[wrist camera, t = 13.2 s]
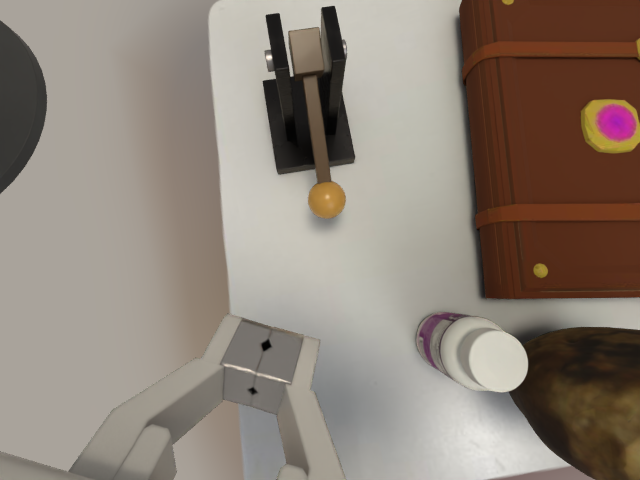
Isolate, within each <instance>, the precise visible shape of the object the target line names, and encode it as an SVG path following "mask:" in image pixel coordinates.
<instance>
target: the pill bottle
mask: <svg viewBox="0 0 640 480" xmlns="http://www.w3.org/2000/svg"><path fill="white" fill-rule="evenodd" d="M416 342H417V347H418V350H419V352H420V354H421V356H422V357H423V359H424V360H425V361H426V362H427V363H428V364H429V365H431V366H433V367H434V368H436V369H437V370H439V371H441V372H442V373H444V374H445V375H447V376H448V377H450V378H451V379H453V380H454V381H456V382H457V383H459V384H461V385H462V386H464V387H466V388H469V389H472V390H477V391H486V390H490V391H494V392H508V391H511V390H514V389H515V388H517V387H518V386H519V385H520V384H521V383H522V382H523V380H524V378H525V377H526V374H527V371H528V358H527V355H526V352H525V349H524V348H523V346H522V344H521V343H520V342H519V341H518V340H517V339H516V338H515V337H514V336H512V335H511V334H509V333H507V332H504V331H503V330H502V329H501V328H500V327H499V326H498V325H497V324H495V323H494V322H492V321H490V320H487V319H485V318H481V317H477V316H469V315H462V314H456V313H448V312H438V313H434V314H432V315H430V316H428V317H427V318H426V319H424V321H423V322H422V323H421V324H420V326H419V328H418V331H417V339H416Z"/></svg>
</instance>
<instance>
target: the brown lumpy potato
mask: <svg viewBox="0 0 640 480" xmlns="http://www.w3.org/2000/svg"><path fill="white" fill-rule="evenodd" d="M522 346H523V348H524V349H525V352H526V355H527V358H528V371H527V374H526V377H525V378H524V380H523V382H522V383H521V384H520V385H519V386H518V387H517V388H515V389H514V390H511V391H509V393H510V395H511V397H512V399H513V401H514V402H515V404H516V405H517V407H518V408H519V409H520V411H521V412H522V413H523V414H524V416H525V417H526V419H527V420H528V422H529V424H530V425H531V427H532V428H533V430H534V431H535V433H536V434H537V435H538V436H539V438H540V439H541V440H542V441H543V443H544V444H545V445H546V446H547V447H548V448H549V449H550V450H551V451H553V452H554V453H555V454H556V455H558V456H559V457H560V458H562V459H563V460H564V461H566V462H567V463H569V464H570V465H572V466H573V467H575V468H576V469H578V470H580V471H581V472H583V473H584V474H586V475H587V476H589V477H592V478H593V479H595V480H640V330H633V329H622V328H610V327H576V328H567V329H561V330H557V331H553V332H549V333H546V334H543V335H541V336H538V337H536V338H534V339H532V340H530V341H528V342H527V343H525V344H524V345H522Z"/></svg>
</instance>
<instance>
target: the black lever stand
mask: <svg viewBox="0 0 640 480" xmlns="http://www.w3.org/2000/svg"><path fill="white" fill-rule="evenodd" d="M266 22H267V28H268V34H269V40H270V45H271V50H265V57H266V62H267V68H268V71H269V72H271V71H275V75H276V79H272V80H265V81H263V87H264V93H265V99H266V105H267V112H268V118H269V124H270V130H271V137H272V143H273V149H274V155H275V162H276V168H277V172H278V174H284V173H291V172H297V171H303V170H310V169H315V163H314V157H313V150H312V143H311V137H310V130H309V123H308V117H307V110H306V103H305V97H304V90H303V83H302V80H301V81H294V76H293V77H290V72H289V65H288V59H287V53H286V48H285V42H284V36H283V31H282V25H281V19H280V14H279V13H276V14H269V15H266ZM321 46H322V54H323V61H324V72H323V75H322V77H321V78H317V81H318V88H319V96H320V103H321V110H322V117H323V125H324V132H325V139H326V146H327V153H328V161H329V166H335V165H341V164H348V163H353V162H354V160H355V154H354V149H353V144H352V139H351V134H350V129H349V124H348V119H347V115H346V110H345V105H344V100H343V95H342V85H343V78H344V71H345V64H346V59H347V47H346V42H345V40H342V38H341V33H340V28H339V23H338V18H337V13H336V9H335V6H329V7H322V9H321Z"/></svg>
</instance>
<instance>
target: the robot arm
mask: <svg viewBox="0 0 640 480" xmlns="http://www.w3.org/2000/svg"><path fill="white" fill-rule="evenodd" d="M319 346H320V340H319V339H316V338H312V337H308V336H304V335H303V334H299V333H295V332H292V331H288V330H284V329H280V328H277V327H271V326H268V325H264V324H261V323H258V322H255V321H251V320H248V319H245V318H242V317H238V316H235V315H232V314H227V315H226V316H225V317H224V318H223V320H222V321H221V323H220V325H219V327H218V329H217V330H216V332H215V334H214V336H213V338H212V339H211V341H210V343H209V345H208V347H207V348H206V350H205V352H204V354H203V356H202V357H201V359H199V358H195V359H193V360H191V361H190V362H188V363H187V364H185V365H184V366H182V367H180V368H179V369H177V370H175V371H174V372H172V373H171V374H169V375H167V376H166V377H164V378H163V379H161V380H159V381H158V382H156V383H155V384H153V385H152V386H150V387H148V388H147V389H145V390H144V391H142V392H140V393H139V394H137V395H136V396H134V397H132V398H131V399H129V400H128V401H126V402H124V403H123V404H121V405H120V406H118V407H116V408H115V409H113V410H112V411H111V412H110V414H109V415H108V417H107V418H106V419H105V421H104V422H103V424H102V425H101V427H100V428H99V429H98V431H97V432H96V433H95V435H94V436H93V438H92V439H91V440H90V442H89V443H88V445H87V446H86V447H85V449H84V450H83V452H82V453H81V454H80V456H79V457H78V459H77V460H76V461H75V463H74V464H73V466H72V467H71V469H70V470H69V471H68V472H67V471H64V470H61V469H57V468H54V467H51V466H47V465H44V464H40V463H37V462H34V461H30V460H27V459H24V458H21V457H17V456H14V455H10V454H7V453H4V452H1V451H0V480H173V479H174V477H175V475H176V473H177V471H176V465H175V458H174V452H173V446H172V445H173V444H174V443H175V442H177V441H178V440H179V439H180V438H181V437H182V436H183V435H185V434H186V433H187V432H188V431H189V430H190V429H191V428H193V427H194V426H195V425H196V424H197V423H198V422H199V421H201V420H202V419H203V418H204V417H205V416H206V415H207V414H208V413H210V412H211V411H212V410H213V409H214V408H216V407H217V406H218V405H219V404H220V403H221V402H222V400H227V401H231V402H235V403H239V404H242V405H246V406H250V407H253V408H256V409H259V410H262V411H266V412H269V413H272V414H275V415H277V420H278V425H279V430H280V434H281V439H282V444H283V449H284V454H285V458H286V463H287V464H285V465H284V466H283V467H282V468H280V471H279V473H278V476H277V479H276V480H346V478H345V475H344V472H343V469H342V466H341V464H340V461H339V458H338V455H337V452H336V450H335V447H334V444H333V441H332V438H331V436H330V433H329V430H328V427H327V424H326V422H325V419H324V416H323V413H322V410H321V408H320V405H319V402H318V399H317V396H316V394H315V392H313V391H310V389H311V385H312V380H313V375H314V370H315V365H316V361H317V356H318V351H319Z"/></svg>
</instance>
